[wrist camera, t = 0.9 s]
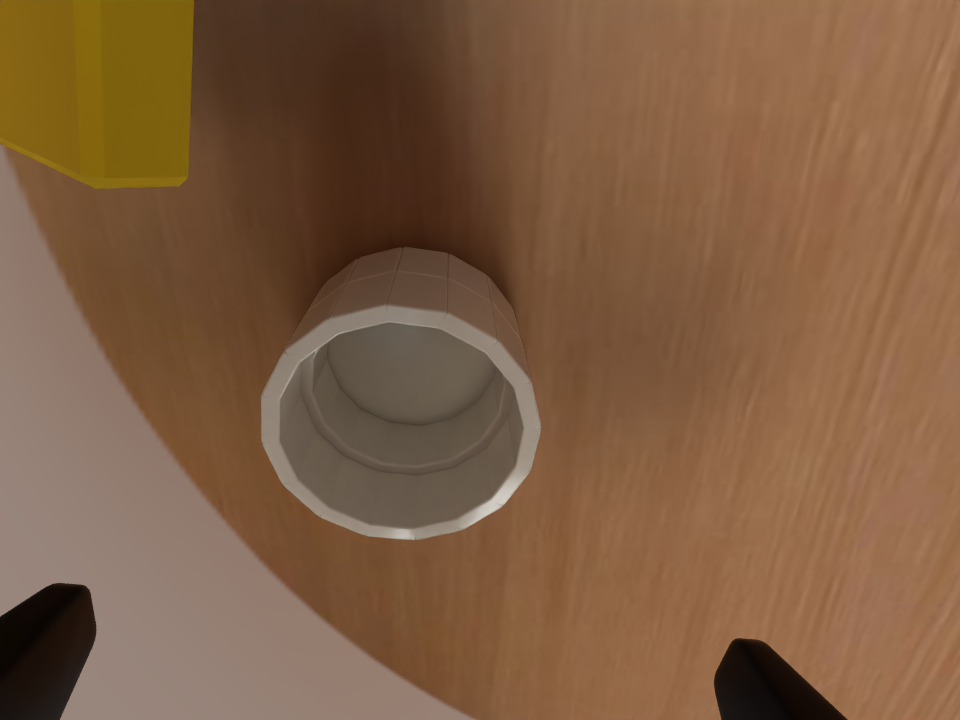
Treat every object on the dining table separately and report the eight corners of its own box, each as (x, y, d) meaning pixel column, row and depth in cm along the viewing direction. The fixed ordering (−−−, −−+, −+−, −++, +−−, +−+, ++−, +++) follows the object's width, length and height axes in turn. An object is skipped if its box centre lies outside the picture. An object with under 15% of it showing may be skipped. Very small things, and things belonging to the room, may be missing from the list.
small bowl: (499, 442, 18) (512, 550, 14) (305, 421, 18) (261, 527, 14) (537, 259, 16) (566, 327, 12) (311, 227, 15) (258, 287, 11)
